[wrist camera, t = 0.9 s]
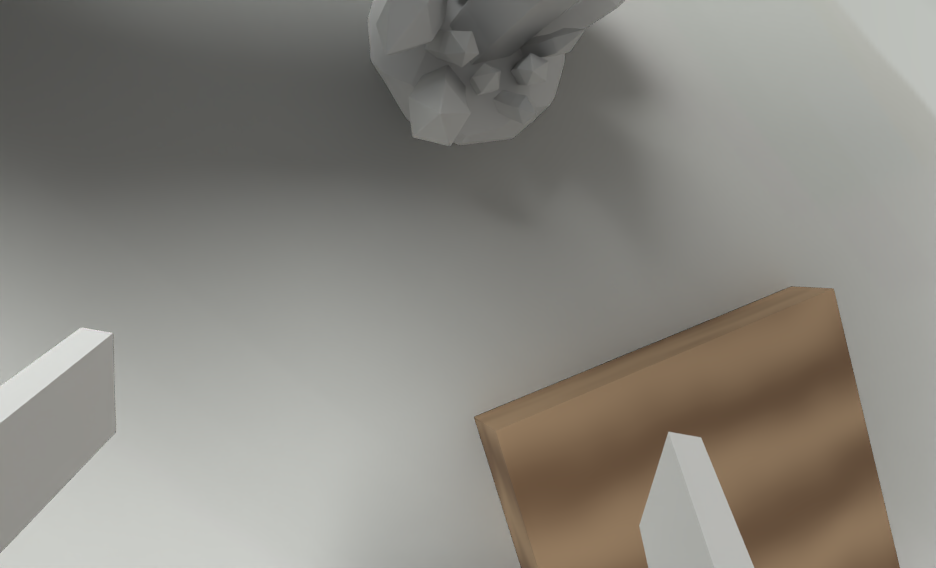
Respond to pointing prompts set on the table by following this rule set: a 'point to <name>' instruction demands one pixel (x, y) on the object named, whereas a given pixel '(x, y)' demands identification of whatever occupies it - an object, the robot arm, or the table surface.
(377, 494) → the table surface
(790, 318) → the block
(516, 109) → the crystal
